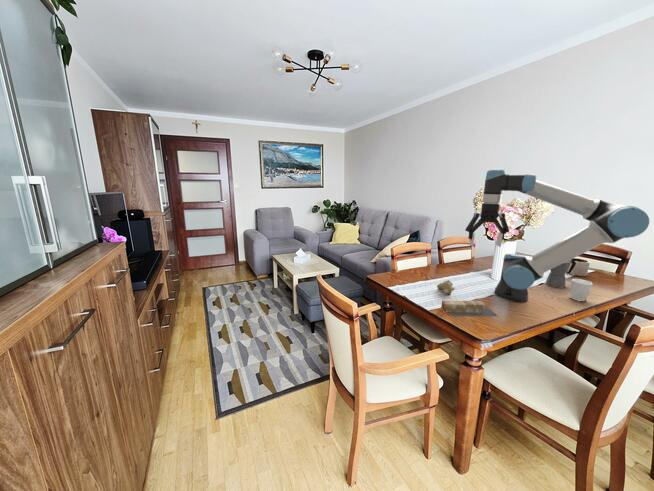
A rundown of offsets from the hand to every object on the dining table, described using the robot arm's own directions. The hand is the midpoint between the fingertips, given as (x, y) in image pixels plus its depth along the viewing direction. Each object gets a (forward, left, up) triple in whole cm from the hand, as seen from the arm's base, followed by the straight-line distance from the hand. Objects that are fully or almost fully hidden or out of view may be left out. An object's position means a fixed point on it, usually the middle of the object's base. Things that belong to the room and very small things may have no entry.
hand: (484, 245), depth 138 cm
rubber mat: (+11, +14, -29) cm, 34 cm away
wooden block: (+5, +14, -26) cm, 30 cm away
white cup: (-53, -1, -29) cm, 60 cm away
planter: (-86, -41, -29) cm, 100 cm away
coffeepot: (-58, -21, -29) cm, 68 cm away
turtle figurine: (+14, -6, -29) cm, 33 cm away
